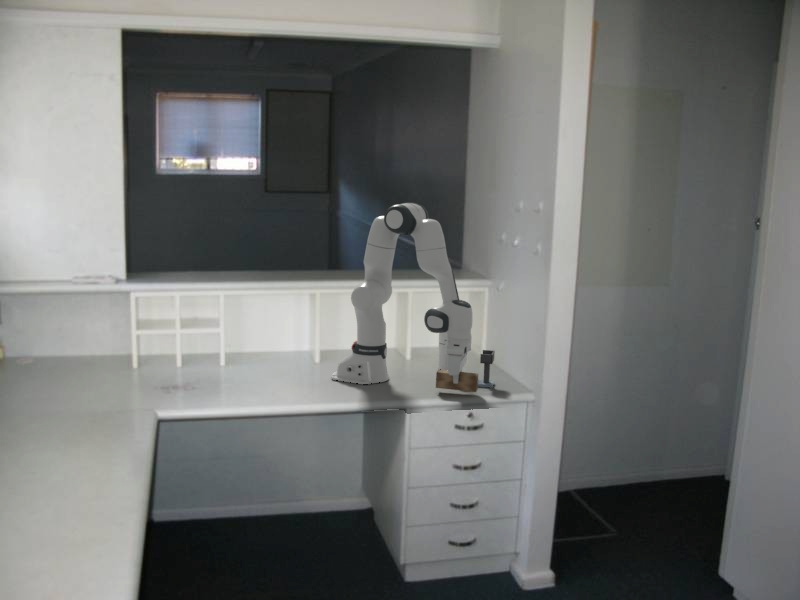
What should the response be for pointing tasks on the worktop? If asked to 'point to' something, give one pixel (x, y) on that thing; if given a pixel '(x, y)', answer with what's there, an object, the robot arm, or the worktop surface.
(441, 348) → the cylindrical container
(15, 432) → the worktop surface
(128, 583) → the worktop surface
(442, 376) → the rail
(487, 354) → the stand
